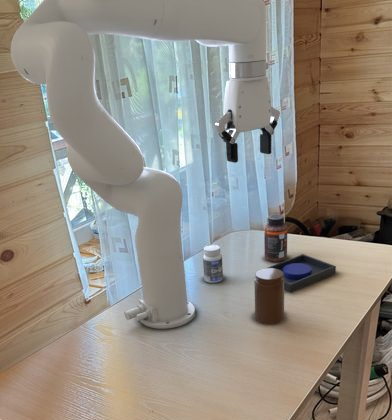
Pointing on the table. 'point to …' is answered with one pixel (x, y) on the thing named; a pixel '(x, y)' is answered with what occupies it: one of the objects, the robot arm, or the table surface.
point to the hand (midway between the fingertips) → (249, 157)
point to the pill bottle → (212, 264)
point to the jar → (269, 295)
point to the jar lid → (297, 271)
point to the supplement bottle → (275, 238)
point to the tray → (318, 273)
